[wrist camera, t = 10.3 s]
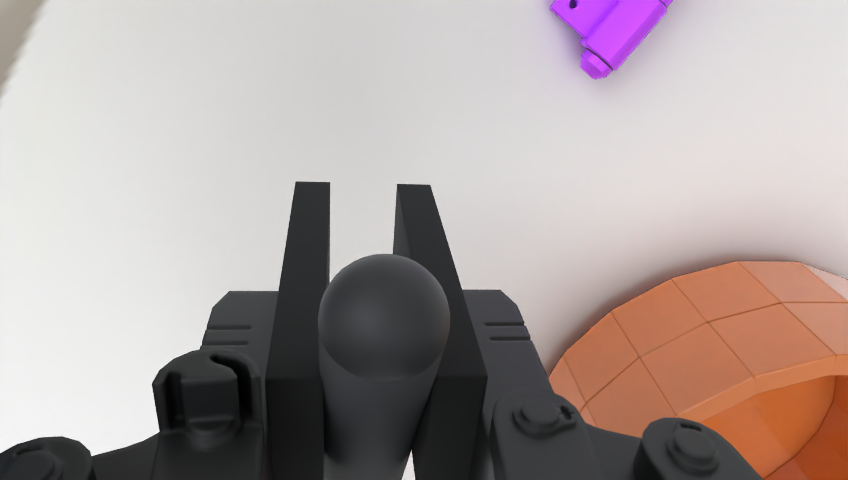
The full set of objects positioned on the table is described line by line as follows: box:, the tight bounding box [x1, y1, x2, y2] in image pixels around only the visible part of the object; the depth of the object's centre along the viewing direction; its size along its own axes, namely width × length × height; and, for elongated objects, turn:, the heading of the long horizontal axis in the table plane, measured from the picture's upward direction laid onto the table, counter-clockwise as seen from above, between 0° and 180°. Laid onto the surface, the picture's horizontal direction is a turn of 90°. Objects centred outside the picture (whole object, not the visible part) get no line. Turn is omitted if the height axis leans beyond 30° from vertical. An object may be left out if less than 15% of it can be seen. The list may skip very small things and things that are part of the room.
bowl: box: [548, 261, 848, 480], centre depth 25 cm, size 16×16×6 cm
